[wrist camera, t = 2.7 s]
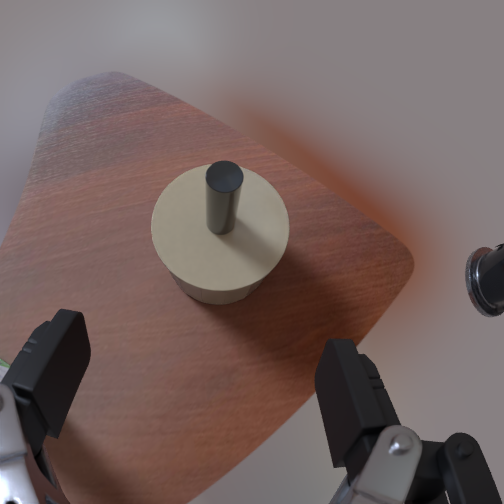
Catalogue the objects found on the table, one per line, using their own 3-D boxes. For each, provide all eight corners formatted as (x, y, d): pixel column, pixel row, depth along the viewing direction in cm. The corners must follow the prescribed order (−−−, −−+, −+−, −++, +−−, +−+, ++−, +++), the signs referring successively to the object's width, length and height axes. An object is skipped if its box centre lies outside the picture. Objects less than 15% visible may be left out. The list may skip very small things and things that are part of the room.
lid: (287, 178, 32) (310, 122, 24) (284, 299, 28) (314, 273, 20) (166, 165, 31) (156, 105, 23) (142, 285, 27) (115, 253, 19)
